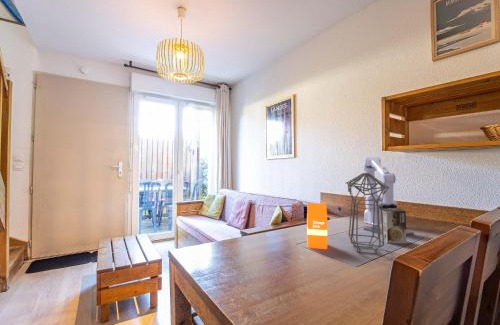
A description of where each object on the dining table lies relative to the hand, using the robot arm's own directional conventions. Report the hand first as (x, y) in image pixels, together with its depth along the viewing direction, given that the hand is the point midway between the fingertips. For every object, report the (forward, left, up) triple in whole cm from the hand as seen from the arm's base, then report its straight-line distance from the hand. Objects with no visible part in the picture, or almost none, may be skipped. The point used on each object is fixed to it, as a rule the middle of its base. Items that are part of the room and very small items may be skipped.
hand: (387, 217), depth 137 cm
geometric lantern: (+16, -39, -8) cm, 43 cm away
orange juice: (+1, -54, -8) cm, 55 cm away
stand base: (0, 0, -8) cm, 8 cm away
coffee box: (+13, -15, -8) cm, 21 cm away
